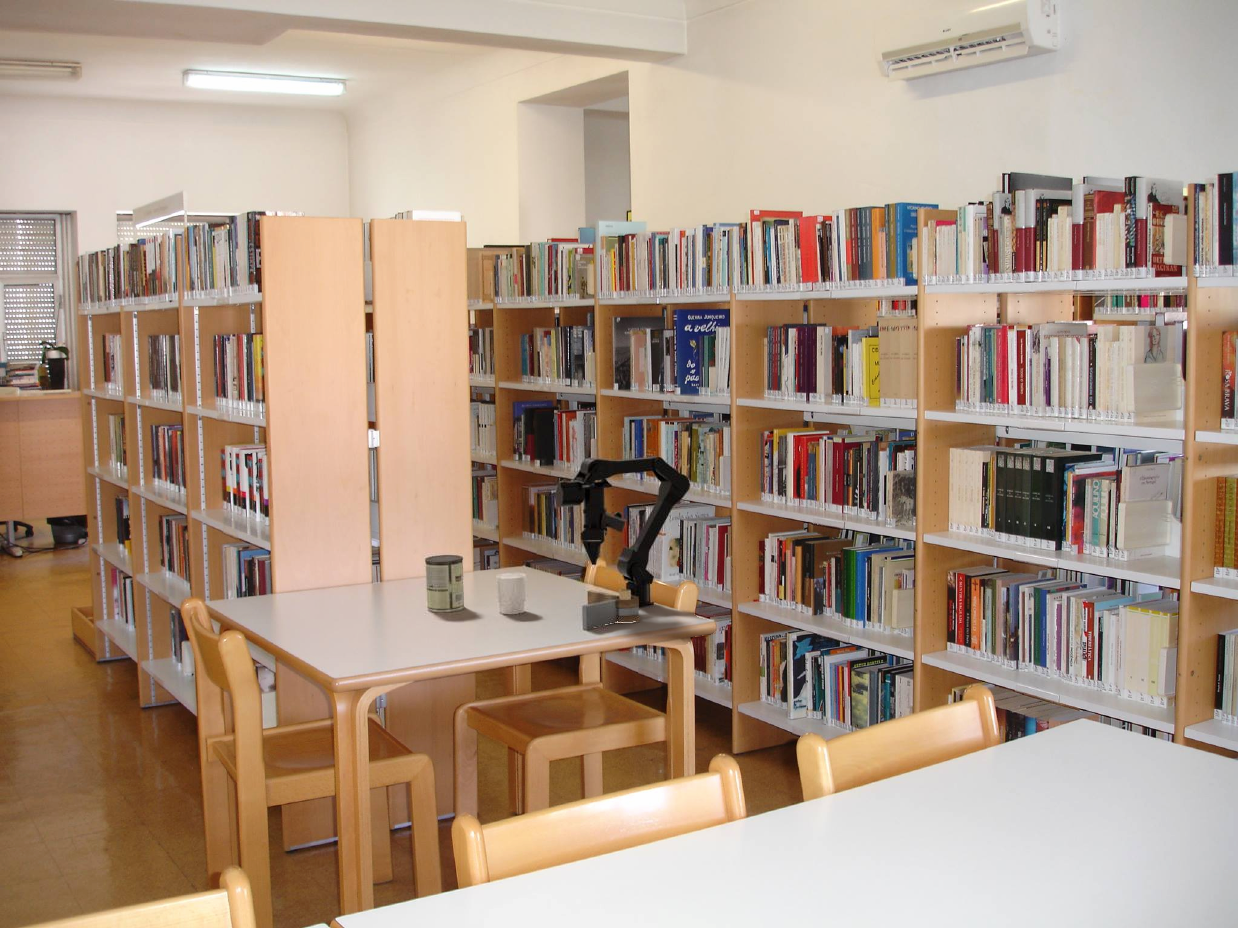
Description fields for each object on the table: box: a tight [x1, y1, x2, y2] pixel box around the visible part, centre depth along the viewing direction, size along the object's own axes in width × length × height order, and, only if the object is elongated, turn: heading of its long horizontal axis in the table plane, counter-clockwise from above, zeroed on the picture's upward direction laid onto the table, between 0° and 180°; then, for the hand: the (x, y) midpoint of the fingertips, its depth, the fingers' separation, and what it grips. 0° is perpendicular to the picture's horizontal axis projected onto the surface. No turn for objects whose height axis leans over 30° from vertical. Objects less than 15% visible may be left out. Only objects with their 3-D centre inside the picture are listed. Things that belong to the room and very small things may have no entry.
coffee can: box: [424, 554, 465, 613], centre depth 325 cm, size 10×10×14 cm
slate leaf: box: [581, 600, 640, 630], centre depth 303 cm, size 18×7×6 cm, turn 132°
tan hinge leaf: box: [586, 589, 640, 622], centre depth 310 cm, size 18×7×6 cm, turn 42°
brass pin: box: [618, 588, 631, 600], centre depth 306 cm, size 3×3×8 cm
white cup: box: [496, 572, 527, 615], centre depth 319 cm, size 8×8×10 cm
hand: (595, 561), depth 320 cm, fingers open, 9 cm apart
